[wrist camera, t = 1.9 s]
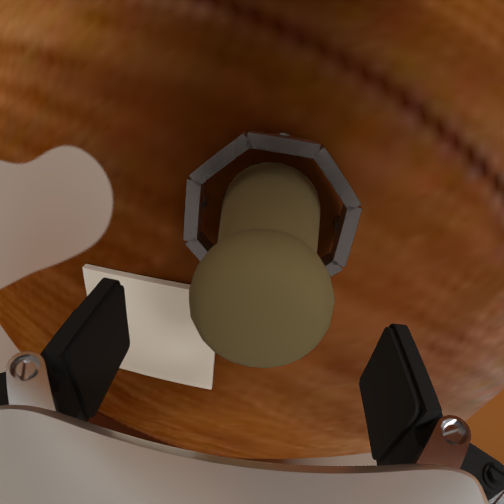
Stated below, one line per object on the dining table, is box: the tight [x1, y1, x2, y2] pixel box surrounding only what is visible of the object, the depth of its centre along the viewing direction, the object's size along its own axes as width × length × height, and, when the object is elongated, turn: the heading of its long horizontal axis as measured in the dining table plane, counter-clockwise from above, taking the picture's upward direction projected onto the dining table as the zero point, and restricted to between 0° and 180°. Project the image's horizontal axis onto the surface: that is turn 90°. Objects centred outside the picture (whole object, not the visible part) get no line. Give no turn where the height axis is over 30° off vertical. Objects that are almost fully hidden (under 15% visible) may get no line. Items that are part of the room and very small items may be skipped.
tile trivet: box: [82, 264, 215, 390], centre depth 25 cm, size 11×11×1 cm
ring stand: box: [183, 130, 362, 277], centre depth 19 cm, size 10×10×2 cm
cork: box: [189, 162, 335, 368], centre depth 15 cm, size 6×6×11 cm
